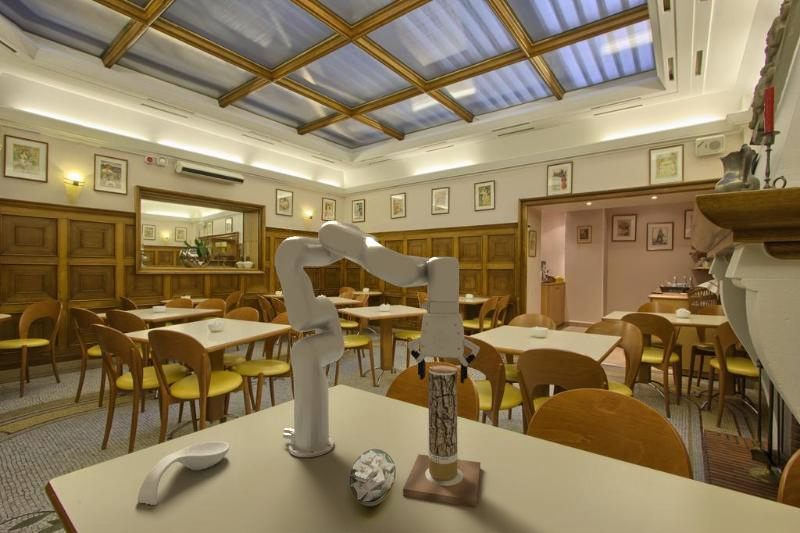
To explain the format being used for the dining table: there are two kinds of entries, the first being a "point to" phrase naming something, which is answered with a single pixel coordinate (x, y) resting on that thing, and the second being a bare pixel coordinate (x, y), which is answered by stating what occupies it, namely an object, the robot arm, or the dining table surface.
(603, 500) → the dining table surface
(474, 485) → the board
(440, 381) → the bark print can
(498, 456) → the dining table surface
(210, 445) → the spoon rest
